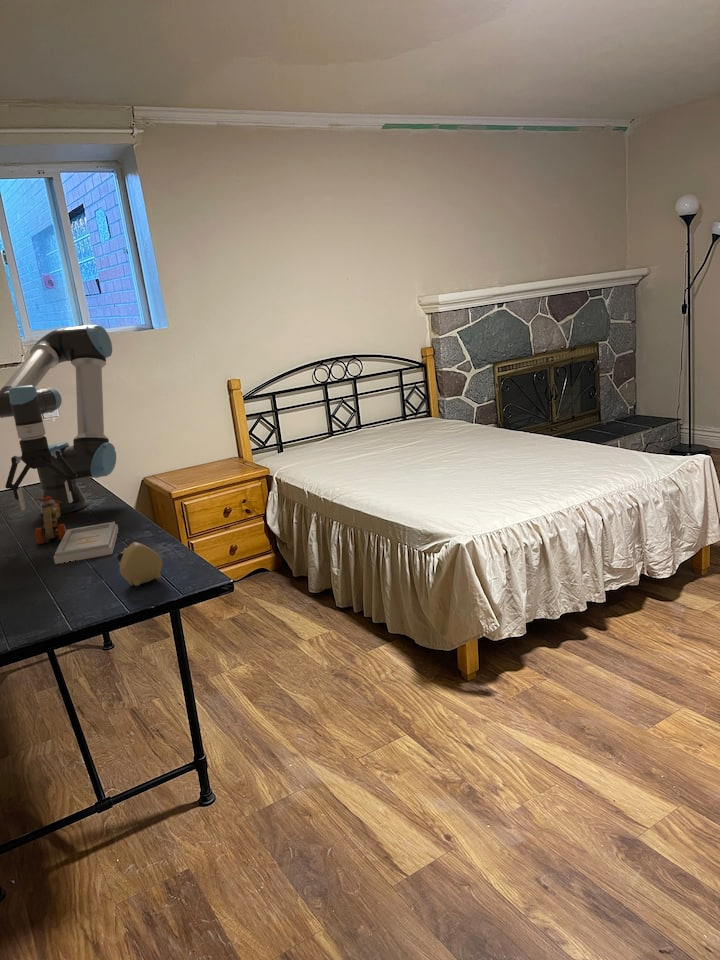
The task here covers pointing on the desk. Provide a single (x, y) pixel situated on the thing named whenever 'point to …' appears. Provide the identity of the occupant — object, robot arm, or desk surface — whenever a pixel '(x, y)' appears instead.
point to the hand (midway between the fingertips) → (47, 505)
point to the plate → (87, 542)
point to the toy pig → (139, 564)
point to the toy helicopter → (50, 521)
